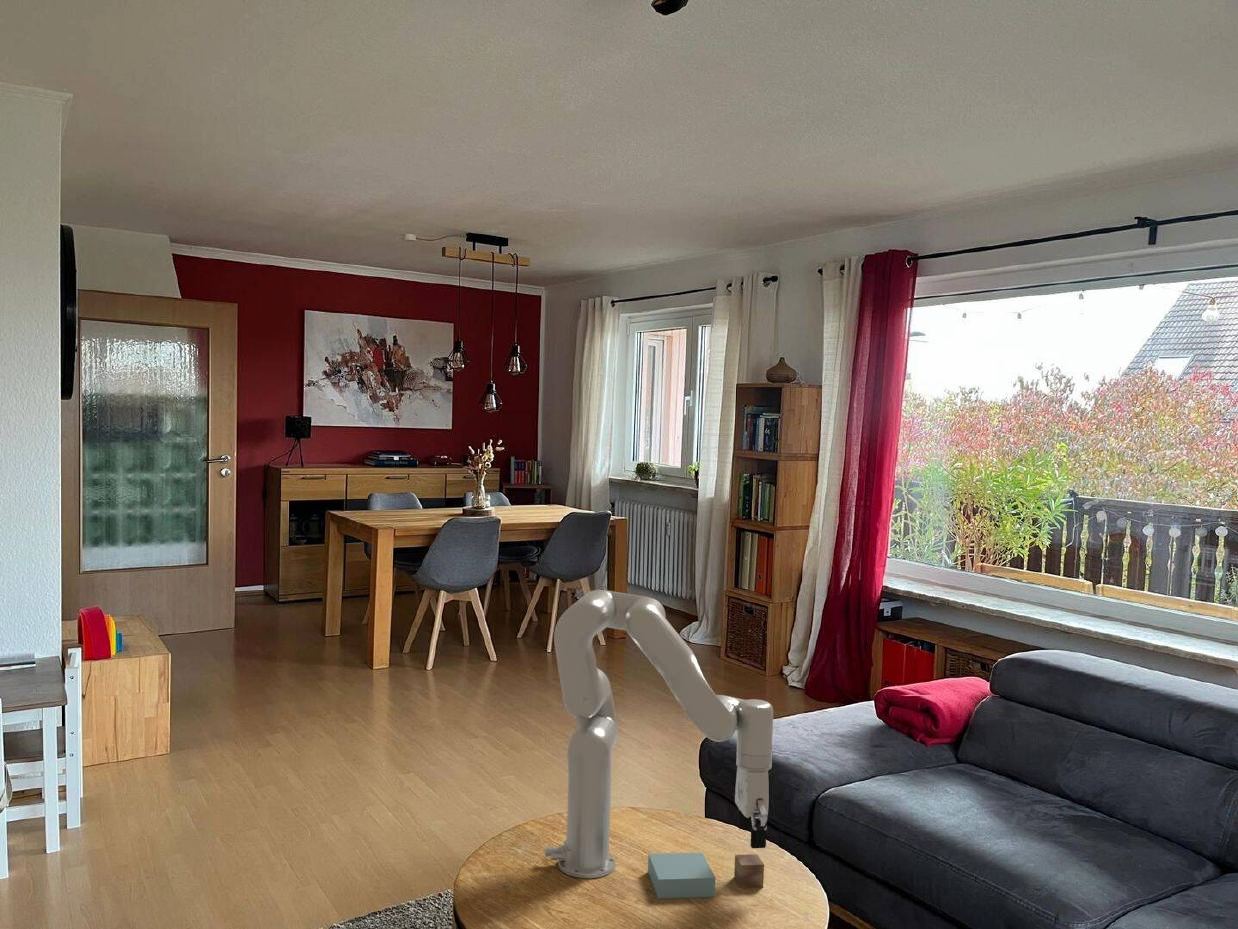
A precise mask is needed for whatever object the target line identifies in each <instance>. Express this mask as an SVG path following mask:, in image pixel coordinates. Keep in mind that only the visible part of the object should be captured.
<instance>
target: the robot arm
mask: <svg viewBox="0 0 1238 929" xmlns="http://www.w3.org/2000/svg"><path fill="white" fill-rule="evenodd" d="M606 628H607V629H608V628H610V629H616V630H622V631H626V632H627V635H628V636H629V637H630V638H631V640H632V641H633V642H634V643H635V644H636V646H637V647H638V649H640V651H641V652H642V653H643V655H644V656H645V657H646V658H647V659H648V660H649V662H650V663H651V665H653V667H654V668H655V669H656V671H657V672H658V673H659V674H660V675H661V677H662V678H663V680H664V682H665V684H666V685H667V687H668V689H669V690H670V691H671V693H672V694H673V696H674V697H675V699H676V700H677V702H678V704H679V705H680V707H681V708H682V710H683V711H684V712H685V714H686V715H687V717H689V719H690V720H691V721H692V722H693V723H694V725H695V726H696V727H697V729H698V730H699V731H700V732H701V733H702V734H703V735H704V736H705V737H706V738H707V739H709V740H710V741H713V742H717V743H720V742H726V741H728V740H729V739H731V738H732V737H733V736H734V734H735V732H736V762H735V763H736V764H735V765H736V766H737V767H736V777H735V780H736V781H735V788H734V789H735V791H734V801H735V802H734V803H735V805H736V806H737V808H738V814H737V816H738V817H737V828H738V829H739V830H750V843H749V844H750V848H751V849H765V848H766V847H767V830H768V814H769V802H770V801H769V799H770V798H769V796H770V795H769V770H771V769H772V767H773V766H772V761H773V735H774V734H773V731H774V730H773V729H774V728H773V727H774V708H773V705H772V704H771V703H769V702H768V701H766V700H763V699H755V698H751V699H743V698H737V697H733V696H729V695H723V694H716V693H715V691H713V689H712V688H711V686H710V685H709V683H708V682H707V680H706V678H705V676H704V674H703V672H702V670H701V668H700V664H699V662H698V659H697V657H696V655H695V653H694V651H693V650H692V648H690V647H689V646H688V644H687V643H686V642H685V640H684V639H683V638H682V637H681V635H680V634H679V633H678V632H677V630H675V628H674V627H673V626H672V624H671V623H670V622H669V621H668V619H667V618H666V611H665V608H664V606H663V604H662V603H661V602H659V600H657V599H655V598H653V597H650V596H644V595H638V594H637V595H636V594H630V593H624V592H618V591H613V590H608V589H607V590H605V589H594V590H591V591H588V592H587V593H585V594H584V595H583V596H582V597H580V598H579V599H578V600H577V601H575V602H574V603H573V604H572V605H570V606H569V607H568V608H567V609H566V610H565V611H564V612H563V613H562V614H561V616H560V617H559V619H558V621H557V623H556V624H555V628H554V634H553V637H554V638H553V639H554V640H553V641H554V650H555V655H556V656H555V657H556V663H557V670H558V671H557V672H558V676H559V682H560V689H561V696H562V702H563V705H564V707H565V710H566V711H567V713H568V714H569V716H571V717H573V718H574V719H575V724H576V728H575V730H574V731H573V732H572V734H571V736H570V738H569V741H568V745H567V755H566V756H567V807H566V808H567V811H566V812H567V813H566V815H567V816H566V834H565V837H566V840H563V844H562V845H561V844H560V845H558V846H556V847H555V846H545V847H544V857H550V860H551V861H558V863H557V864H558V868H559V870H560V871H561V872H563V873H564V874H566V875H568V876H571V877H574V878H578V879H597V878H603V877H605V876H608V875H610V874H611V873H612V872H614V871H615V868H616V859H615V857H614V856H612V854H610V852H609V851H610V831H611V830H610V828H611V827H610V826H611V799H612V759H613V758H612V756H613V751H615V750H614V749H615V746H616V744H617V742H618V738H619V725H618V720H617V719H618V718H617V715H616V709H615V703H614V702H615V701H614V697H613V691H612V686H611V683H610V680H609V678H608V676H607V674H605V673H604V671H602V670H601V669H599V668H598V666H597V657H596V653H595V650H594V646H593V640H594V638H595V636H597V635H598V634H599V633H601V632H603V631H604V630H605V629H606ZM756 819H757V821H756Z"/></svg>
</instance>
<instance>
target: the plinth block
mask: <svg viewBox="0 0 1238 929" xmlns="http://www.w3.org/2000/svg"><path fill="white" fill-rule="evenodd" d="M647 861H648V862H647V873H648V874H647V875H648V876H649V879H650V881H651V883H652V884H651V885H652V887H653V889H654V891H655V894H656V897H657V899H658V900H659V899H661V900H662V899H681V898H682V899H688V898H693V899H694V898H695V899H696V898H715V897H716V896H715V895H716V876H715V875H714V872H713V870H712V868H711V867H710V865H709V863H708V861H707V858H706V857H705V855H704V853H703V852H672V853H671V852H670V853H665V852H664V853H648V860H647Z"/></svg>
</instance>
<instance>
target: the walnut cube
mask: <svg viewBox="0 0 1238 929" xmlns="http://www.w3.org/2000/svg"><path fill="white" fill-rule="evenodd" d="M733 871H734V872H733V873H734V875H733V877H734V879H735V881H736V883H737V884H738V886H739V888H740V889H754V888H755V889H756V888H758V889H759V888H764V879H765V878H764V876H765V864H764V862H763V861H762V859H761V858H760V856H759V854H757V853H752V854H751V853H750V854H735V855H734V870H733Z"/></svg>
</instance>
